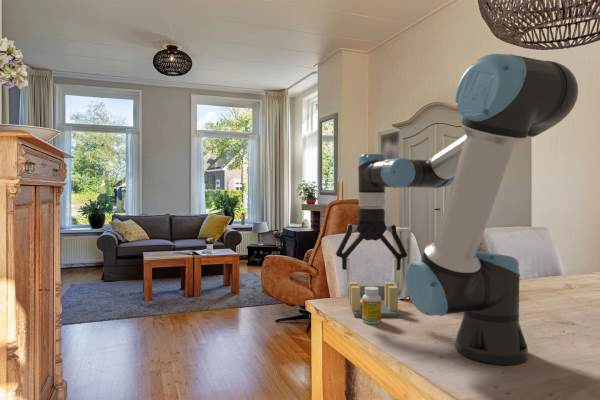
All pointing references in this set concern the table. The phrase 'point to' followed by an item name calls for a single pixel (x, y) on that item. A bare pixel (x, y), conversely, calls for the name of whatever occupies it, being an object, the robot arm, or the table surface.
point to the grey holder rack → (385, 292)
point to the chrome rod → (403, 261)
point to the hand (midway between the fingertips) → (370, 281)
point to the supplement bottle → (371, 306)
